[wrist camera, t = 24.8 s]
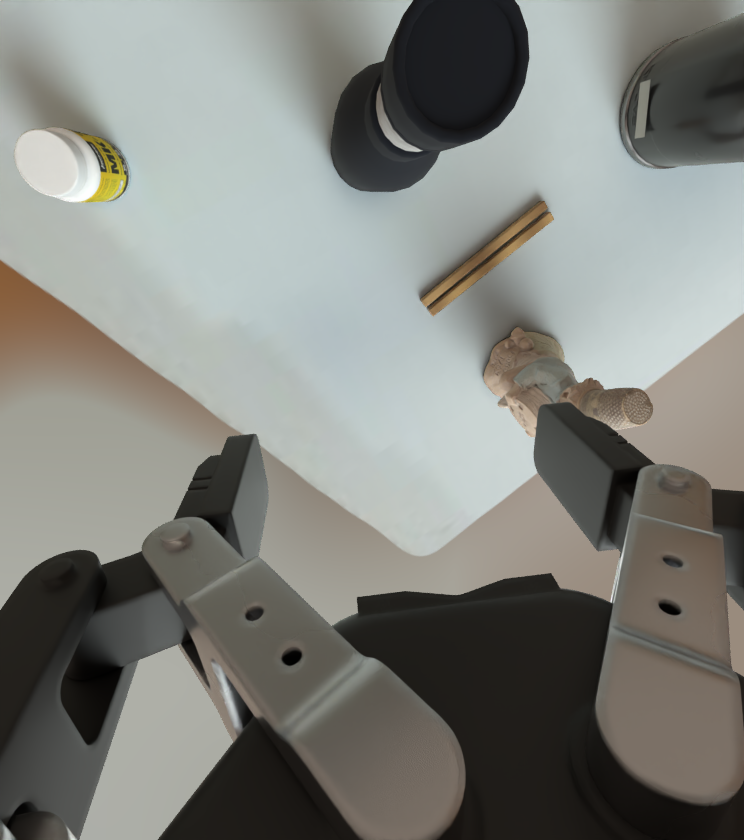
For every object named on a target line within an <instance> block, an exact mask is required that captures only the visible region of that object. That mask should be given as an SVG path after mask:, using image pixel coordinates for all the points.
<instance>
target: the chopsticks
mask: <svg viewBox="0 0 744 840" xmlns="http://www.w3.org/2000/svg"><path fill="white" fill-rule="evenodd" d="M547 208H548V207H547V205H546V203H545V202H544V201H540V202H539V203H537V204H536V205H535V206H534V207H532V208H531V209H530V210H529V211H528V212H526V213H525V214H524V215H523V216H521V217H520V218H519V219H518V220H517V221H515V222H514V223H513V224H512V225H510V226H509V227H508V228H507V229H506V230H504V231H503V232H502V233H501V234H499V235H498V236H497V237H496V238H495V239H493V240H492V241H491V242H490V243H488V244H487V245H486V246H485V247H484V248H482V249H481V250H480V251H479V252H477V253H476V254H475V255H474V256H473V257H471V258H470V259H469V260H468V261H466V262H465V263H464V264H463V265H462V266H460V267H459V268H458V269H457V270H455V271H454V272H453V273H452V274H451V275H449V276H448V277H447V278H446V279H444V280H443V281H442V282H441V283H440V284H438V285H437V286H436V287H435V288H433V289H432V290H431V291H430V292H429V293H427V294H426V295H425V296H424V297H422V298H421V299H420V300H421V302H422V303H423V304H424V306H425V307H427V306H428V305H429V304H430V303H432V302H433V301H434V300H435V299H437V298H438V297H439V296H440V295H442V294H443V293H444V292H445V291H446V290H448V289H449V288H450V287H451V286H453V285H454V284H455V283H456V282H458V281H459V280H460V279H461V278H463V277H464V276H465V275H466V274H467V273H469V272H470V271H471V270H472V269H474V268H475V267H476V266H477V265H479V264H480V263H481V262H482V261H483V260H485V259H486V258H487V257H488V256H490V255H491V254H492V253H493V252H495V251H496V250H497V249H498V248H499V247H501V246H502V245H503V244H504V243H506V242H507V241H508V240H509V239H511V238H512V237H513V236H514V235H515V234H517V233H518V232H519V231H520V230H522V229H523V228H524V227H525V226H527V225H528V224H529V223H530V222H532V221H533V220H534V219H535V218H536V217H538V216H539V215H540V214H541V213H543V212H544V211H545V210H546V209H547ZM553 220H554V218H553V216H552V214H551V212H546V213H545V214H544V215H542V216H541V217H540V218H539V219H537V220H536V221H535V222H534V223H532V224H531V225H530V226H529V227H527V228H526V229H525V230H524V231H523V232H521V233H520V234H519V235H518V236H516V237H515V238H514V239H513V240H511V241H510V242H509V243H508V244H506V245H505V246H504V247H503V248H502V249H500V250H499V251H498V252H497V253H495V254H494V255H493V256H492V257H490V258H489V259H488V260H487V261H485V262H484V263H483V264H482V265H481V266H479V267H478V268H477V269H476V270H474V271H473V272H472V273H471V274H469V275H468V276H467V277H466V278H465V279H463V280H462V281H461V282H460V283H458V284H457V285H456V286H455V287H453V288H452V289H451V290H450V291H448V292H447V293H446V294H445V295H444V296H442V297H441V298H440V299H439V300H437V301H436V302H435V303H434V304H432V305H431V306H430V307H429V308H428V309H427V310H428V311H429V312H430V314H431V315H432V316H434V315H435V314H437V313H438V312H439V311H440V310H442V309H443V308H444V307H445V306H447V305H448V304H449V303H450V302H452V301H453V300H454V299H455V298H457V297H458V296H459V295H460V294H462V293H463V292H464V291H465V290H467V289H468V288H469V287H470V286H472V285H473V284H474V283H475V282H477V281H478V280H479V279H480V278H482V277H483V276H484V275H485V274H487V273H488V272H489V271H490V270H492V269H493V268H494V267H495V266H497V265H498V264H499V263H500V262H501V261H503V260H504V259H505V258H506V257H508V256H509V255H510V254H511V253H513V252H514V251H515V250H516V249H518V248H519V247H520V246H521V245H523V244H524V243H525V242H526V241H528V240H529V239H530V238H531V237H533V236H534V235H535V234H536V233H538V232H539V231H540V230H541V229H543V228H544V227H545V226H546V225H548V224H549V223H550V222H551V221H553Z"/></svg>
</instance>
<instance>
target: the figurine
mask: <svg viewBox="0 0 744 840" xmlns="http://www.w3.org/2000/svg"><path fill="white" fill-rule="evenodd" d="M484 381H485V383H486V385H487V386H488V388H489V389H490V390H491V391H492V392H493V393H494V394H495V395H497V396H500V397H501V398H502V399H500V401H499V402H498V406H499V407H501V408H509V409H510V411H511V413H512V414H513V416H514V417H515V419H516V420H517V421H518V422H519V424H520V425H521V426H522V427H523V428H524V429H525V431H526V433H527V434H528V436H530V437H535V435H536V426H537V416H538V410H539V408H540V406H541V405H543V404H552V403H562V402H570V403H572V404H573V405H574V406H575V407H576V408H577V409H579V410H580V411H581V412H582V413H583V414H584V415H586V416H587V417H592V418H594V419H596V420H599V421H601V422H603V423H605V424H607V425H608V426H610V427H611V428H612V429H613V430H616V429H625V428H631V427H636V426H641V425H643V424H645V423H647V422H648V421H649V419H650V418H651V416H652V412H653V405H652V403H651V402H650V399H649V397H648V396H647V394H646V393H645V392H644V391H643V390H641V389H638V388H615V389H608V390H604V389H603V386H602V385H601V384H600V382H599V381H597V380H593V378H589V379H586V380H584V382H582V383H578V382H577V380H576V379H575V376H574V373H573V371H572V369H571V368H570V367H569V366H568V365H567V364H565V363H564V352H563V350H562V348H561V346H560V344H559V343H558V342H556V340H555V339H553V338H551V337H548V336H544V335H543V334H539V333H536V332H524V331H523V330H522V329H521V328H519V327H516V328H515V329H514V330H513V331H512V333H511V336H510V338H507V339H505V340H503V341H501V342H499V343H498V344H497V345H496V346H495V347H494V348H493V350H492V353H491V356H490V360H489V362H488V365H487V366H486V368H485V373H484Z"/></svg>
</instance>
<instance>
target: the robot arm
mask: <svg viewBox="0 0 744 840" xmlns="http://www.w3.org/2000/svg"><path fill="white" fill-rule="evenodd" d="M620 128H621V135H622V139H623V142H624V145H625V147H626V149H627V151H628V153H629V154H630V155H631V157H632V158H633V159H634V160H635V161H637V162H638V163H640V164H641V165H643V166H645V167H648V168H653V169H666V168H674V167H678V166H692V165H707V164H721V163H735V162H744V13H742V14H740V15H738V16H735V17H733V18H731V19H728V20H726V21H724V22H721V23H719V24H717V25H714V26H712V27H710V28H707V29H704V30H702V31H700V32H697V33H695V34H693V35H690V36H687V37H683V38H680V39H677V40H675V41H673V42H670V43H668V44H666V45H664V46H662V47H661V48H659V49H658V50H657V51H655V52H654V53H653V54H652V55H650V56H649V57H648V58H647V59H646V60H645V62H644V63H643V64H642V65H641V66H640V68H639V69H638V70H637V72H636V73H635V75H634V76H633V78H632V80H631V82H630V84H629V86H628V88H627V91H626V93H625V96H624V99H623V104H622V108H621V116H620ZM534 462H535V466H536V469H537V471H538V473H539V475H540V476H541V477H542V478H543V480H544V481H545V483H546V484H547V485H548V486H549V488H550V489H551V490H552V492H553V493H554V494H555V496H556V497H557V498H558V500H559V501H560V502H561V504H562V505H563V506H564V507H565V509H566V510H567V512H568V513H569V514H570V515H571V517H572V518H573V520H574V521H575V522H576V523H577V525H578V526H579V527H580V529H581V530H582V531H583V533H584V534H585V535H586V537H587V538H588V539H589V541H590V542H591V543H592V544H593V546H594V547H595V548H596V550H597V551H605V550H613V549H619V551H620V552H621V553H620V558H619V562H618V567H617V572H616V577H615V582H614V586H613V591H612V596H611V602H608V601H606V600H604V599H602V598H598V597H596V596H593V595H590V594H586V593H583V592H579V591H575V590H569V589H561V588H560V587H559V586H558V584H557V582H556V581H555V579H554V577H553V576H552V574H551V573H549V574H541V575H533V576H525V577H517V578H509V579H503V580H500V581H497V582H495V583H492V584H489V585H486V586H484V587H481V588H479V589H475V590H473V591H470V592H467V593H464V594H461V595H444V594H433V593H420V592H408V591H404V592H395V593H387V594H380V595H371V596H363V597H357V603H358V613H357V614H354V615H351V616H349V617H347V618H345V619H343V620H341V621H339V622H337V623H336V624H334V625H332V626H331V625H330V624H329V623H328V622H326V621H325V619H323V618H322V617H321V616H320V615H319V614H318V613H317V612H316V611H315V610H314V609H313V608H312V607H311V606H310V605H309V604H308V603H307V602H306V601H305V600H304V599H303V598H302V597H301V596H300V595H298V593H297V592H296V591H294V590H293V589H292V588H291V587H290V586H289V585H288V584H287V583H286V582H285V581H284V580H283V579H282V578H281V577H280V576H279V575H278V574H277V573H276V572H275V571H274V570H273V569H272V568H271V567H270V566H269V565H268V564H266V562H264V561H263V560H262V559H261V558H260V557H258V556H259V550H260V545H261V539H262V534H263V528H264V522H265V517H266V512H267V511H266V510H267V506H268V484H267V478H266V474H265V469H264V464H263V460H262V454H261V450H260V445H259V440H258V437H257V435H256V434H249V435H239V436H230V437H228V438H227V440H226V443H225V445H224V448H223V450H222V453H221V455H215V456H210V457H209V458H207V459H206V460H205V461H204V462H203V463H202V464H201V465H200V466H198V468H197V470H196V472H195V474H194V477H193V481H191V483H190V485H189V487H188V491H187V492H186V494H185V496H184V498H183V501H182V503H181V505H180V507H179V509H178V511H177V513H176V516H175V518H174V520H173V521H170V522H168V523H165V524H163V525H161V526H160V527H158V528H157V529H155V530H154V531H153V532H151V533H150V534H149V535H148V536H147V538H146V539H145V541H144V542H143V545H142V551H141V552H139V553H136V554H134V555H131V556H128V557H125V558H122V559H119V560H116V561H113V562H110V563H107V564H104V565H101V564H100V561H99V559H98V557H97V555H96V554H94V553H93V552H90V551H87V550H75V551H70V552H65V553H62V554H59V555H56V556H54V557H52V558H50V559H48V560H46V561H44V562H42V563H41V564H39V565H38V566H36V567H35V568H34V569H32V570H31V571H30V572H29V573H28V574H27V575H25V577H24V578H23V579H22V580H21V582H20V583H19V584H18V586H17V587H16V589H15V590H14V591H13V593H12V594H11V596H10V597H9V599H8V600H7V601H6V603H5V604H4V606H3V607H2V609H1V610H0V840H79V839H80V836H81V833H82V829H83V826H84V823H85V820H86V817H87V814H88V811H89V808H90V805H91V802H92V799H93V796H94V793H95V790H96V787H97V784H98V781H99V778H100V775H101V772H102V769H103V766H104V763H105V760H106V757H107V754H108V751H109V748H110V745H111V742H112V739H113V736H114V733H115V730H116V727H117V724H118V720H119V718H120V715H121V712H122V709H123V705H124V702H125V700H126V697H127V693H128V690H129V687H130V684H131V681H132V678H133V676H134V672H135V669H136V666H137V663H138V660H140V659H142V658H145V657H147V656H150V655H152V654H155V653H157V652H160V651H162V650H165V649H167V648H170V647H172V646H175V645H177V644H178V646H179V648H180V650H181V651H182V653H183V654H184V656H185V658H186V659H187V661H188V662H189V664H190V666H191V667H192V669H193V670H194V672H195V674H196V675H197V677H198V678H199V680H200V682H201V683H202V685H203V686H204V688H205V690H206V691H207V693H208V694H209V696H210V698H211V699H212V701H213V703H214V704H215V706H216V708H217V710H218V712H219V714H220V716H221V718H222V720H223V723H224V725H225V727H226V729H227V731H228V733H229V734H230V736H231V738H232V740H233V744H232V745H231V746H230V747H229V749H228V750H227V751H226V753H225V754H224V755H223V756H222V758H221V759H220V760H219V762H218V763H217V764H216V765H215V767H214V768H213V769H212V771H211V772H210V773H209V775H208V776H207V777H206V778H205V780H204V781H203V782H202V783H201V785H200V786H199V788H198V789H197V790H196V791H195V792H194V794H193V795H192V796H191V798H190V799H189V800H188V801H187V803H186V804H185V805H184V807H183V808H182V809H181V810H180V812H179V813H178V814H177V816H176V817H175V818H174V819H173V821H172V822H171V823H170V825H169V826H168V827H167V828H166V830H165V831H164V832H163V834H162V835H161V836H160V837H159V839H158V840H744V677H743V676H741V675H740V674H738V673H736V672H734V671H733V670H732V666H731V656H730V641H729V625H728V608H727V593H728V594H729V595H730V596H731V597H732V598H733V599H734V600H735V601H736V602H737V604H738V605H739V606H740V607H741V608H742V609H743V610H744V492H743V491H730V490H718V489H711V486H710V484H709V482H708V481H707V480H706V479H705V478H703V477H702V476H700V475H699V474H697V473H695V472H693V471H690V470H688V469H685V468H682V467H677V466H673V465H664V464H655V463H653V462H652V461H651V460H650V459H648V458H647V457H646V456H645V455H644V454H642V453H641V452H640V451H639V450H637V449H636V448H635V447H634V446H633V445H631V444H630V443H627V440H625V439H624V438H623V437H622V436H621V435H619V436H618V433H617V432H616V431H614V430H613V429H612V428H611V427H610V426H608V425H607V424H605V423H603V422H601V421H599V420H596V419H594V418H592V417H587V416H586V415H584V414H583V413H582V412H581V411H580V410H579V409H577V408H576V407H575V406H574V405H573V404H572V403H570V402H562V403H552V404H543V405H541V406H540V408H539V410H538V416H537V426H536V435H535V445H534Z"/></svg>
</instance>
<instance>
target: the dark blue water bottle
mask: <svg viewBox="0 0 744 840" xmlns="http://www.w3.org/2000/svg"><path fill="white" fill-rule="evenodd" d="M528 62H529V45H528V31H527V28H526V25H525V22H524V19H523V16H522V13H521V10H520V8H519V5H518V4H517V3H516V1H515V0H413V2H412V3H411V5H410V6H409V7H408V9H407V10H406V12H405V13H404V15H403V17H402V19H401V21H400V23H399V26H398V28H397V30H396V32H395V34H394V37H393V39H392V41H391V43H390V46H389V48H388V51H387V54H386V57H385V60H384V61H382V62H379V63H375V64H372V65H369V66H367V67H366V68H365V69H363V70H362V71H361V72H359V73H358V74H357V75H355V76H354V77H353V78H352V79H351V81H350V82H349V84H348V85H347V87H346V88H345V90H344V91H343V92H342V94H341V97H340V100H339V103H338V106H337V109H336V113H335V118H334V125H333V132H332V138H331V155H332V159H333V164H334V167H335V168H336V170H337V172H338V174H339V175H340V177H341V178H342V179H343V180H344V181H345V182H346V183H347V184H348V185H349V186H351V187H353V188H355V189H358V190H360V191H370V192H394V191H398V190H401V189H405V188H409V187H410V186H412V185H413V184H415V183H416V182H418V181H419V180H421V179H422V178H423V177H424V176H425V175H426V174H427V172H428V171H429V170H430V169H431V167H432V166H433V165H434V163H435V162H436V160H437V158H438V155H439V153H440V151H443V150H447V149H451V148H454V147H457V146H460V145H463V144H466V143H469V142H472V141H475V140H478V139H481V138H482V137H484V136H485V135H487V134H488V133H490V132H491V131H492V130H494V129H495V128H497V127H498V126H499V125H500V124H501V123H502V122H503V120H504V119H505V118H506V117H507V115H508V114H509V113H510V112H511V110H512V109H513V108H514V106H515V104H516V102H517V100H518V97H519V95H520V93H521V91H522V89H523V86H524V84H525V79H526V73H527V68H528Z"/></svg>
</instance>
